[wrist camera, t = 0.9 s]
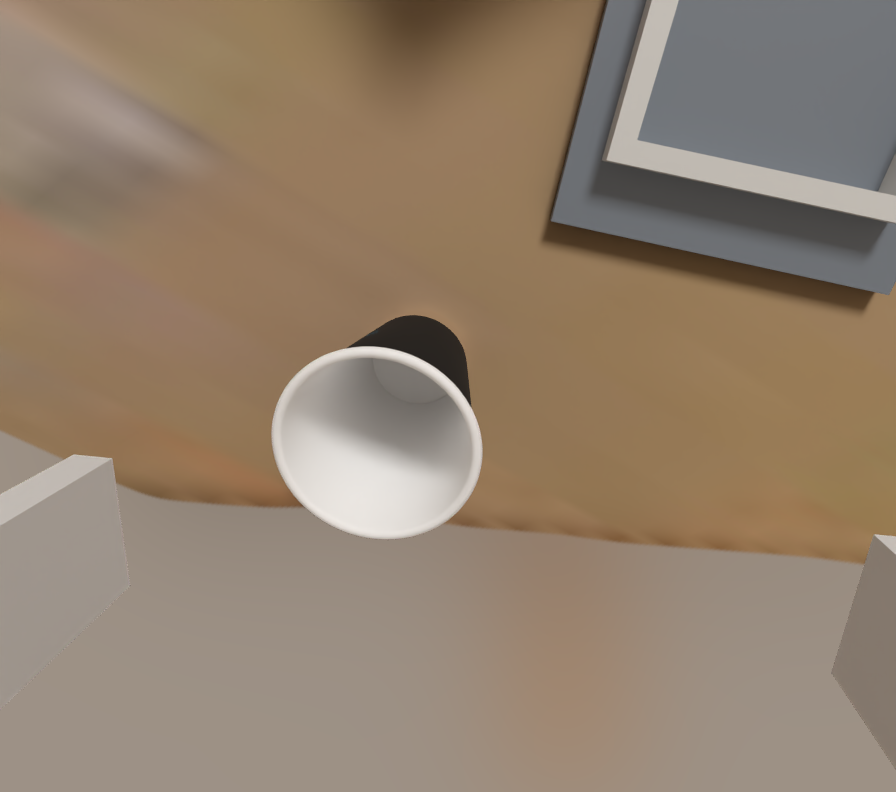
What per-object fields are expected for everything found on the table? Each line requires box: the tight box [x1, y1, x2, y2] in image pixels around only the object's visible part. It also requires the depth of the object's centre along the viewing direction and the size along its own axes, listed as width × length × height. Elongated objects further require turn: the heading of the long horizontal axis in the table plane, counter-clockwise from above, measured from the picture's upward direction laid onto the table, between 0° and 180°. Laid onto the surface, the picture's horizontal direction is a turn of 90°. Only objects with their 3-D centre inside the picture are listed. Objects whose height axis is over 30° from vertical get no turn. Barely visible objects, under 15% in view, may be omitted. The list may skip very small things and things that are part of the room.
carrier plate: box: [550, 0, 896, 295], centre depth 23 cm, size 19×16×2 cm
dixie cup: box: [272, 315, 482, 540], centre depth 27 cm, size 8×8×11 cm
